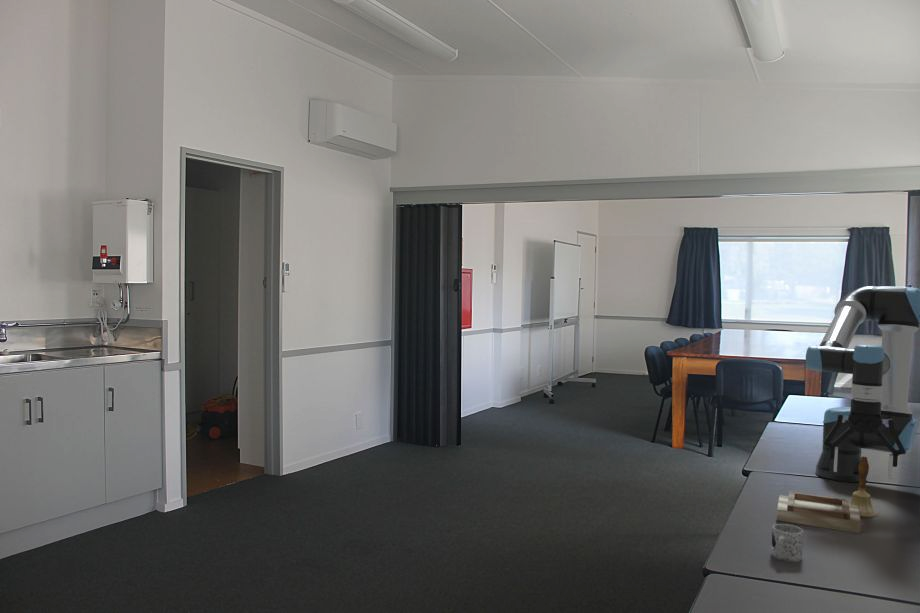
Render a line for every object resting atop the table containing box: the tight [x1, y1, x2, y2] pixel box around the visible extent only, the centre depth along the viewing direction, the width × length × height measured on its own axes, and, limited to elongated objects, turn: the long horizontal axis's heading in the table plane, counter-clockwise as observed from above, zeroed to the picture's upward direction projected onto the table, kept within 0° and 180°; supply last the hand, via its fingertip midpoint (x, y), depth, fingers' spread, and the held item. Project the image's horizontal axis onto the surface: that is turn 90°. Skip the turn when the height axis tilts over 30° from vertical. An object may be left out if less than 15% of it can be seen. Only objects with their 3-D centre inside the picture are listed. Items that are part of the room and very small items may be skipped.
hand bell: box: [848, 456, 878, 518], centre depth 208 cm, size 8×8×16 cm
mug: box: [770, 523, 804, 563], centre depth 172 cm, size 10×7×7 cm
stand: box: [776, 490, 862, 534], centre depth 202 cm, size 15×20×4 cm
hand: (862, 474), depth 207 cm, fingers open, 13 cm apart
